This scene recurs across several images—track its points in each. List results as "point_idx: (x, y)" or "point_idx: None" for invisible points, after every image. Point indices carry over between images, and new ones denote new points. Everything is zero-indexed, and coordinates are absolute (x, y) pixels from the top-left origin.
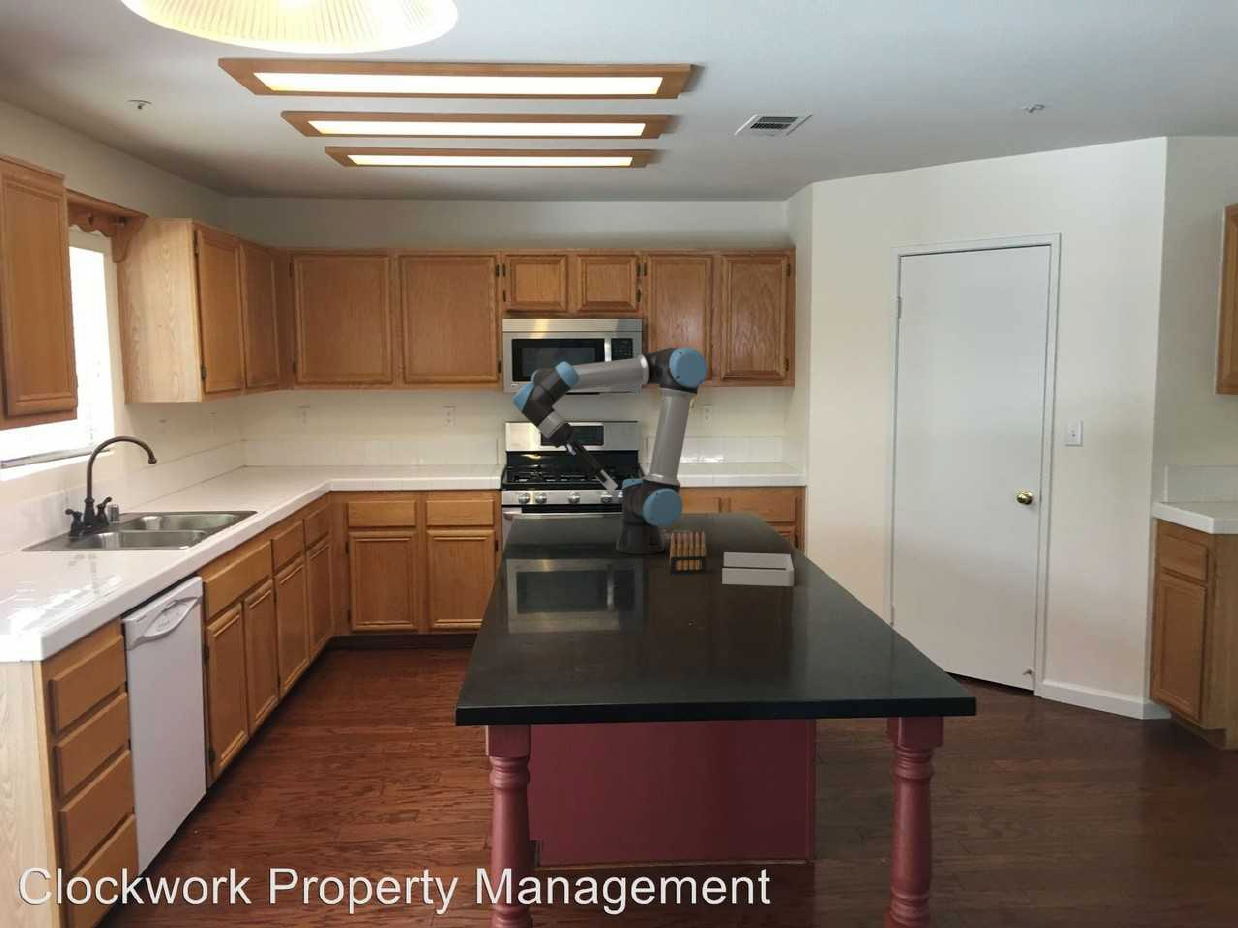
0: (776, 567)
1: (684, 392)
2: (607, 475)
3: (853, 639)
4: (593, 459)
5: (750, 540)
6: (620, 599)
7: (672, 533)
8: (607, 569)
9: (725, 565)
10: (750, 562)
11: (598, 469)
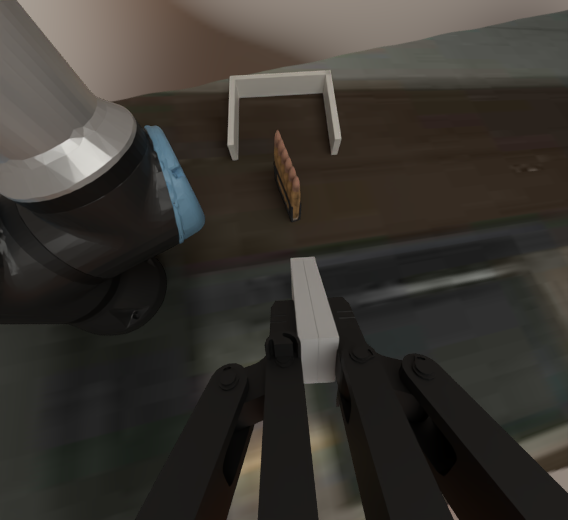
0: (238, 105)
1: None
2: (310, 299)
3: (505, 48)
4: (203, 497)
5: None
6: (465, 262)
7: (297, 178)
8: None
9: (237, 157)
10: (237, 126)
11: (376, 357)
